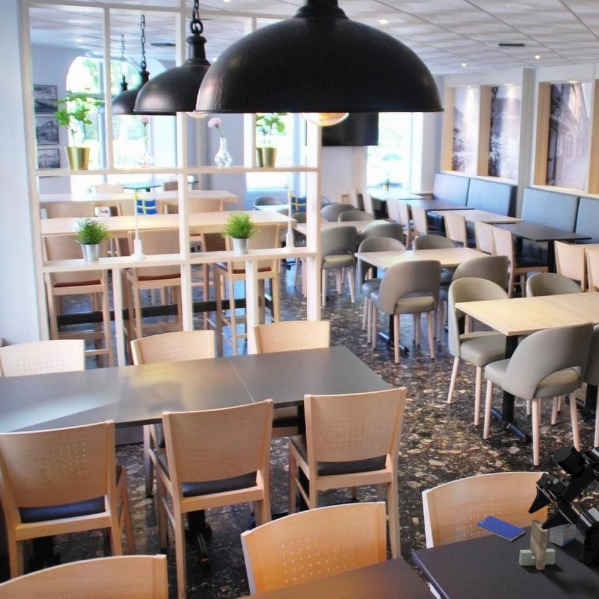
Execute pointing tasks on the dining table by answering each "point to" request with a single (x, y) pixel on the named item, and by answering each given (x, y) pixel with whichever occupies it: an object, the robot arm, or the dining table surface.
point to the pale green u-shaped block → (528, 559)
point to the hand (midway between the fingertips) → (535, 520)
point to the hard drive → (500, 528)
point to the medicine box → (563, 534)
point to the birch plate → (538, 543)
